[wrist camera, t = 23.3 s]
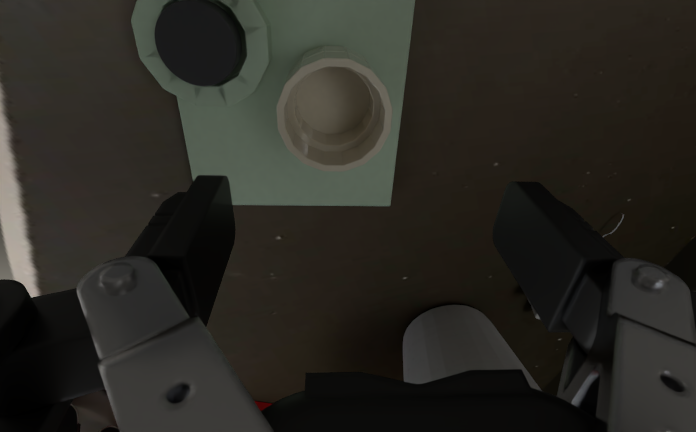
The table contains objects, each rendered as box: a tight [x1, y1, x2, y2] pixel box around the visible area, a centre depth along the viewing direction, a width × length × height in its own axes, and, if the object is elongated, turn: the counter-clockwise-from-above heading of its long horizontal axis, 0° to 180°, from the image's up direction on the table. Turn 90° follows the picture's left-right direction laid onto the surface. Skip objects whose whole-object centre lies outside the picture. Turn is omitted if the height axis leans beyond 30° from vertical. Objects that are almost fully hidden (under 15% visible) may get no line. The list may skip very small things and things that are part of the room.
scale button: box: [155, 0, 242, 86], centre depth 20 cm, size 4×4×2 cm
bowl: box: [277, 46, 393, 172], centre depth 22 cm, size 6×6×4 cm
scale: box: [131, 0, 415, 206], centre depth 23 cm, size 16×15×3 cm
